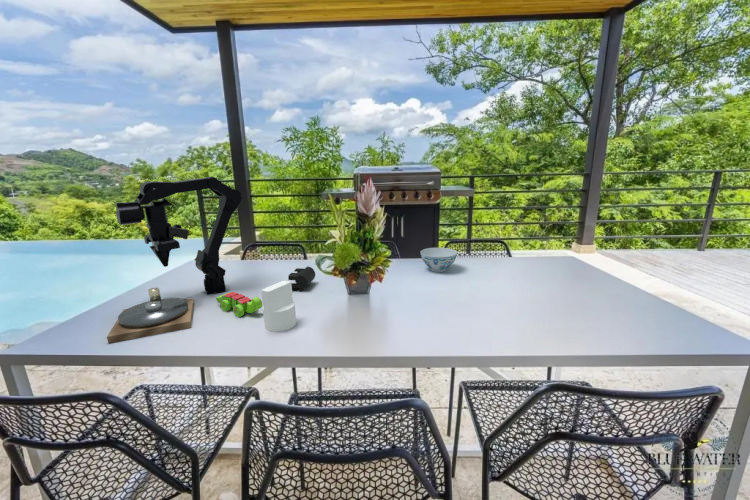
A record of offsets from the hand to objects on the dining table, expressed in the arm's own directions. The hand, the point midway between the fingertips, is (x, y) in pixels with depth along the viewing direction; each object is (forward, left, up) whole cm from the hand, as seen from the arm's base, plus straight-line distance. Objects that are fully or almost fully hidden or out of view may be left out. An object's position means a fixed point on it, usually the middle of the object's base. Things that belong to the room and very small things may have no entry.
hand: (165, 266), depth 118 cm
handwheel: (+3, +15, -11) cm, 18 cm away
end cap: (-44, +7, -13) cm, 47 cm away
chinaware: (-100, +14, -13) cm, 102 cm away
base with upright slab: (-31, +35, -13) cm, 49 cm away
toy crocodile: (-21, +18, -13) cm, 31 cm away
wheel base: (+3, +15, -13) cm, 20 cm away
